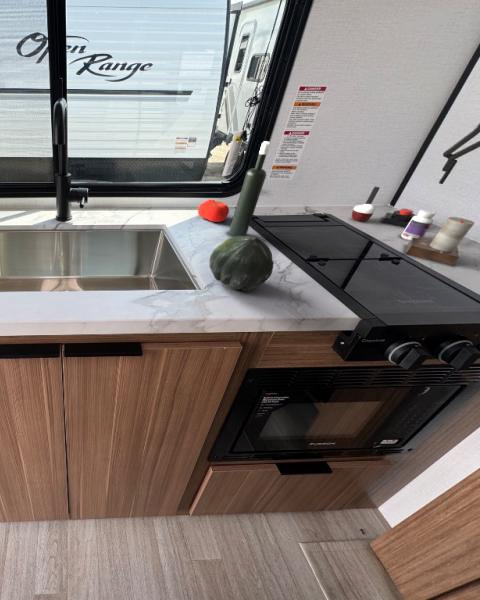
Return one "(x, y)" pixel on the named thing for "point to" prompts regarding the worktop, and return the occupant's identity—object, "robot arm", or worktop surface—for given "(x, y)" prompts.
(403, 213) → the button
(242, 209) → the wine bottle
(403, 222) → the button box
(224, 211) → the tomato
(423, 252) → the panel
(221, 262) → the squash
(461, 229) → the beige waisted cup
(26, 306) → the worktop surface
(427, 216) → the pill bottle
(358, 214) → the cocoa
